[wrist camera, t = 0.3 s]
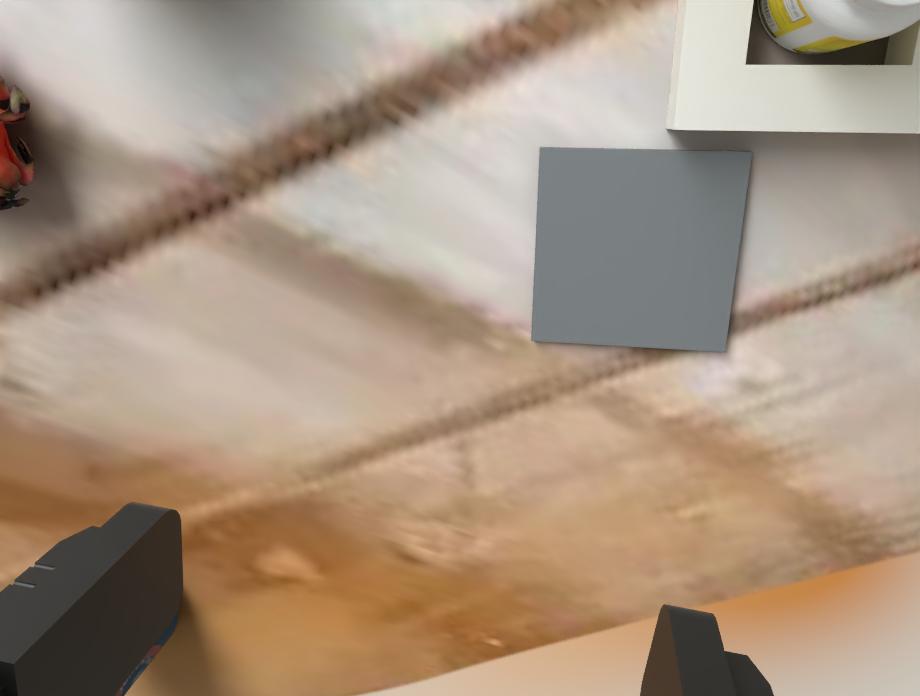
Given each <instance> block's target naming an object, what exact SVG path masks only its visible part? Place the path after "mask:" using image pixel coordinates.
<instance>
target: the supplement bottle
mask: <svg viewBox="0 0 920 696" xmlns="http://www.w3.org/2000/svg"><path fill="white" fill-rule="evenodd" d="M757 6H758V12H759V16H760V20H761V22H762V25H763V27H764V28H765V30H766V32H767V33H768V34H769V36H770V37H771V38H772V39H773V40H774V41H775V42H777V43H778V44H779V45H780V46H782V47H784V48H786V49H788V50H790V51H793V52H796V53H801V54H822V53H828V52H832V51H836V50H840V49H843V48H847V47H851V46H854V45H858V44H862V43H865V42H869V41H873V40H877V39H880V38H883V37H887V36H889V35H892V34H894V33H896V32H899V31H901V30H903V29H905V28H907V27H909V26H910V25H912V24H914V23H915V22H917V21H918V20H919V19H920V0H757Z"/></svg>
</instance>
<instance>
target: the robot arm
mask: <svg viewBox="0 0 920 696" xmlns="http://www.w3.org/2000/svg"><path fill="white" fill-rule="evenodd" d="M182 591H183V566H182V535H181V519H180V515H179V513H178V512H177V511H176V510H173V509H167V508H162V507H157V506H152V505H146V504H141V503H136V502H131V503H129V504H127V505H125V506H124V507H123V508H122V509H121V510H120V511H118V512H117V513H116V514H115V515H114V516H113V517H112V518H111V519H109V520H108V521H107V522H106V523H105V524H104V525H103V526H102V527H101V528H100V527H95V526H91V527H89V528H87V529H85V530H83V531H81V532H79V533H77V534H75V535H73V536H71V537H68V538H66V539H64V540H62V541H60V542H59V543H58V544H56V545H55V546H54V547H53V548H52V549H51V550H49V551H48V552H47V553H46V554H45V555H43V556H42V557H41V558H40V559H39V560H38V561H36V562H35V565H34V567H29V568H28V569H27V570H26V571H25V572H23V573H22V574H21V575H20V576H19V577H18V578H16V579H15V582H14V584H13V585H10V584H9V585H8V586H7V587H6V588H5V589H3V590H2V591H1V592H0V696H114V695H115V694H116V693H117V691H118V690H119V689H120V687H121V686H122V685H123V684H124V682H125V681H126V680H127V678H128V677H129V676H130V675H131V673H132V672H133V671H134V670H135V668H136V667H137V666H138V664H139V663H140V662H141V661H142V659H143V658H144V657H145V655H146V654H147V653H148V652H149V650H150V649H151V648H152V646H153V645H154V644H155V643H156V641H157V640H158V639H159V638H160V636H161V635H162V634H163V632H164V631H165V630H166V629H167V627H168V626H169V625H170V623H171V622H172V620H173V618H174V616H175V614H176V612H177V610H178V607H179V604H180V601H181V597H182ZM640 696H774V695H773V692H772V689H771V686H770V684H769V683H768V681H767V680H766V679H765V678H764V676H763V675H762V674H761V673H760V671H759V670H758V669H757V667H756V666H755V665H754V664H753V662H752V661H751V660H750V658H749V657H748V656H747V655H742V654H737V653H731V652H727V651H724V647H723V643H722V640H721V636H720V632H719V628H718V624H717V621H716V618H715V616H714V615H713V614H712V613H707V612H702V611H697V610H692V609H686V608H681V607H676V606H671V605H663V606H662V608H661V610H660V613H659V617H658V621H657V625H656V628H655V633H654V636H653V641H652V645H651V649H650V652H649V656H648V660H647V664H646V668H645V673H644V676H643V681H642V687H641V693H640Z"/></svg>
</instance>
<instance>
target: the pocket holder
mask: <svg viewBox="0 0 920 696" xmlns="http://www.w3.org/2000/svg"><path fill="white" fill-rule="evenodd" d="M753 2H754V0H678V10H677V20H676V31H675V41H674V51H673V61H672V71H671V82H670V92H669V102H668V112H667V122H666V128H667V129H672V130H719V131H785V132H850V133H915V134H920V19H919V20H918V21H917V22H915V23H914V24H912V25H910V26H909V27H907V28H905V29H903V30H901V31H899V32H896V33H894V34H892V35H889V41H888V46H887V52H886V57H885V62H884V65H745V64H746V56H747V48H748V41H749V33H750V25H751V17H752V9H753Z"/></svg>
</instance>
